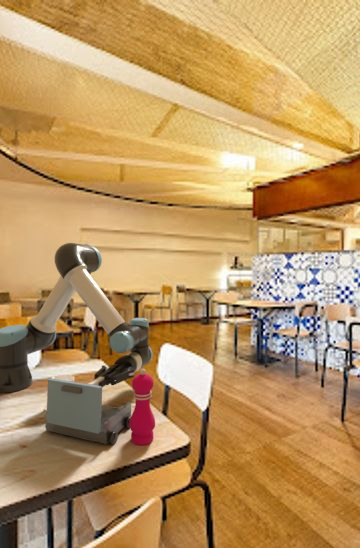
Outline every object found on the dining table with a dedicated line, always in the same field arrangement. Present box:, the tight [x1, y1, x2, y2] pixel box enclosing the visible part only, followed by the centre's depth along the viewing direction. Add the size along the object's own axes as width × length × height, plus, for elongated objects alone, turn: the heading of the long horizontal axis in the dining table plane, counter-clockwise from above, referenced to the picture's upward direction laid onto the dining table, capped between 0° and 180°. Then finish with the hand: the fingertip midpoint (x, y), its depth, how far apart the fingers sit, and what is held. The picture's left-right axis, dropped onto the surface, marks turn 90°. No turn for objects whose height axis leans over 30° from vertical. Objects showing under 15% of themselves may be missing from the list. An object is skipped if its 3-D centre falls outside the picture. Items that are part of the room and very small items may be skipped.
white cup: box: [51, 374, 75, 382], centre depth 106 cm, size 8×8×10 cm
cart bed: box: [44, 401, 132, 445], centre depth 93 cm, size 22×14×6 cm, turn 71°
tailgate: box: [45, 377, 103, 433], centre depth 85 cm, size 17×2×12 cm, turn 71°
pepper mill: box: [129, 368, 156, 446], centre depth 87 cm, size 7×7×20 cm
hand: (90, 388), depth 92 cm, fingers closed
